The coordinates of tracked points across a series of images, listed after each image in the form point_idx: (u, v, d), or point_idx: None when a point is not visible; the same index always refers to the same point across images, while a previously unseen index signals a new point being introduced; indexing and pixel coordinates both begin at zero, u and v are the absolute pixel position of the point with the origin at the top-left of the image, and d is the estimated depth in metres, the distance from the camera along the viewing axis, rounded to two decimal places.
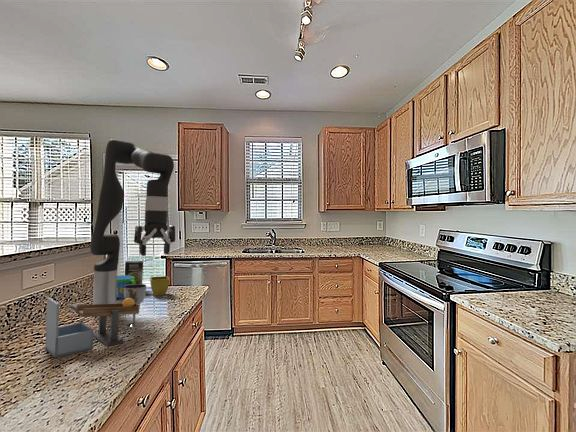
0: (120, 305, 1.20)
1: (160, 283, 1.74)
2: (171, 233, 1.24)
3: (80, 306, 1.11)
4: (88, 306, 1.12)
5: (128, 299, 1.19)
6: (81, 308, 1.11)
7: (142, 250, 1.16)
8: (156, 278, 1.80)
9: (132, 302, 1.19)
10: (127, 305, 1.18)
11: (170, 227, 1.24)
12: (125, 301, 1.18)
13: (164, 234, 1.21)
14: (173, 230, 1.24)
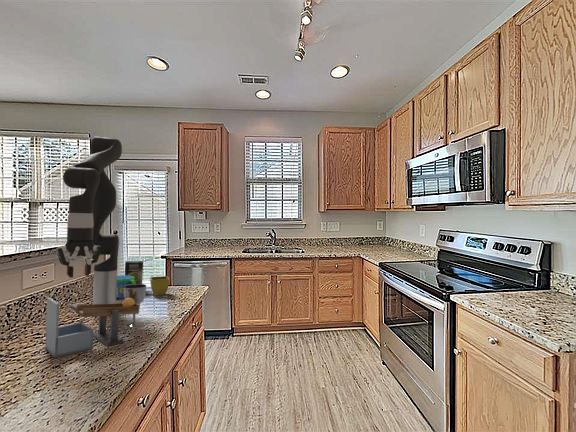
0: (120, 305, 1.20)
1: (161, 283, 1.74)
2: (95, 253, 1.18)
3: (80, 306, 1.11)
4: (88, 306, 1.12)
5: (128, 299, 1.19)
6: (81, 308, 1.11)
7: (69, 272, 1.12)
8: (156, 278, 1.80)
9: (132, 302, 1.19)
10: (127, 305, 1.18)
11: (97, 246, 1.18)
12: (125, 301, 1.18)
13: (87, 253, 1.15)
14: (99, 250, 1.18)
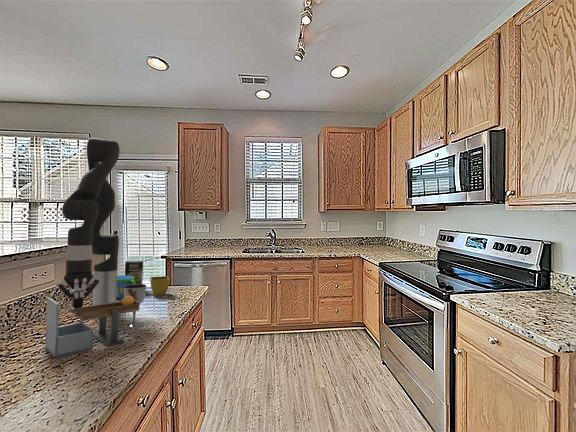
0: (120, 303, 1.20)
1: (160, 283, 1.74)
2: (90, 286, 1.17)
3: (79, 309, 1.10)
4: (88, 308, 1.12)
5: (127, 297, 1.19)
6: (81, 311, 1.11)
7: (74, 304, 1.13)
8: (156, 278, 1.80)
9: (131, 300, 1.19)
10: (127, 303, 1.18)
11: (94, 280, 1.18)
12: (124, 299, 1.18)
13: (83, 285, 1.14)
14: (95, 284, 1.18)
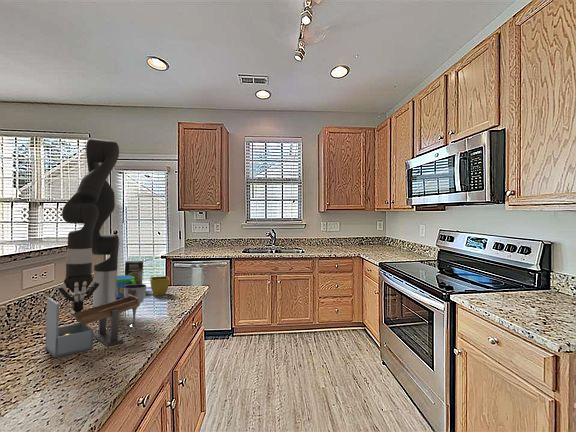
0: (119, 301, 1.20)
1: (161, 283, 1.74)
2: (91, 289, 1.17)
3: (79, 313, 1.10)
4: (87, 311, 1.12)
5: None
6: (80, 315, 1.11)
7: (74, 307, 1.13)
8: (156, 278, 1.80)
9: None
10: None
11: (94, 283, 1.18)
12: None
13: (83, 288, 1.14)
14: (95, 287, 1.18)
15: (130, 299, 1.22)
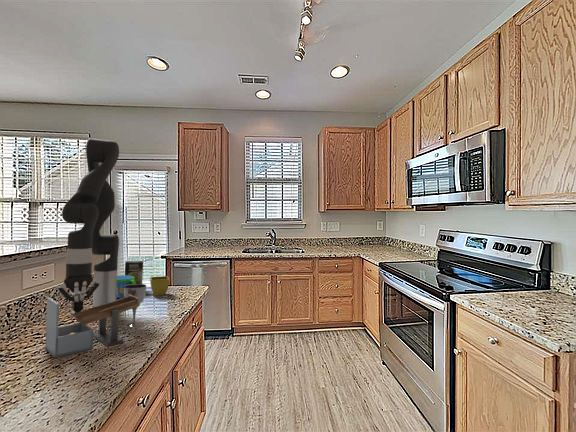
0: (119, 301, 1.20)
1: (160, 283, 1.74)
2: (91, 289, 1.17)
3: (79, 313, 1.10)
4: (87, 311, 1.12)
5: None
6: (80, 315, 1.11)
7: (74, 307, 1.13)
8: (156, 278, 1.80)
9: None
10: None
11: (94, 283, 1.18)
12: None
13: (83, 288, 1.14)
14: (95, 287, 1.18)
15: (130, 299, 1.22)
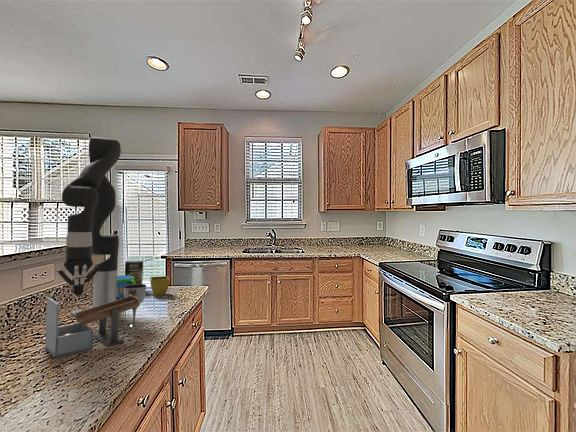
0: (119, 301, 1.20)
1: (160, 283, 1.74)
2: (91, 272, 1.17)
3: (79, 313, 1.10)
4: (87, 311, 1.12)
5: None
6: (80, 315, 1.11)
7: (75, 290, 1.13)
8: (156, 278, 1.80)
9: None
10: None
11: (94, 266, 1.18)
12: None
13: (83, 272, 1.14)
14: (95, 271, 1.17)
15: (130, 299, 1.22)
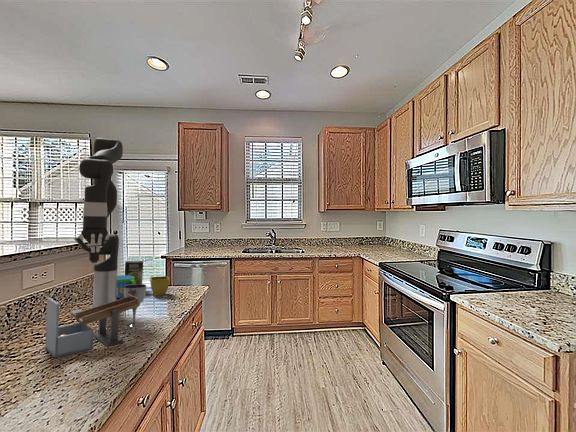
0: (119, 301, 1.20)
1: (160, 283, 1.74)
2: (106, 241, 1.24)
3: (79, 313, 1.10)
4: (87, 311, 1.12)
5: None
6: (80, 315, 1.11)
7: (91, 257, 1.20)
8: (156, 278, 1.80)
9: None
10: None
11: (109, 236, 1.25)
12: None
13: (99, 240, 1.21)
14: (110, 240, 1.24)
15: (130, 299, 1.22)
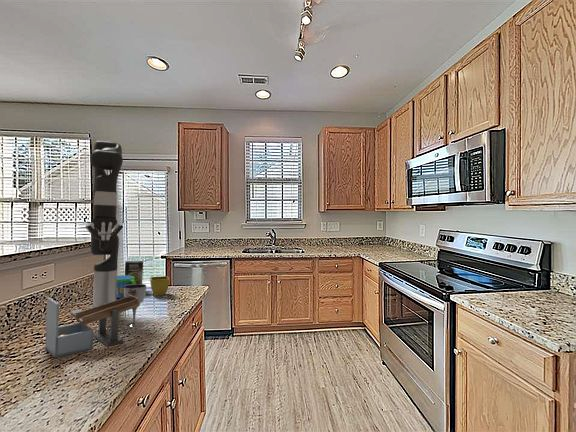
0: (119, 301, 1.20)
1: (160, 283, 1.74)
2: (115, 230, 1.28)
3: (79, 313, 1.10)
4: (87, 311, 1.12)
5: None
6: (80, 315, 1.11)
7: (101, 245, 1.25)
8: (156, 278, 1.80)
9: None
10: None
11: (118, 225, 1.29)
12: None
13: (109, 229, 1.26)
14: (119, 229, 1.29)
15: (130, 299, 1.22)
